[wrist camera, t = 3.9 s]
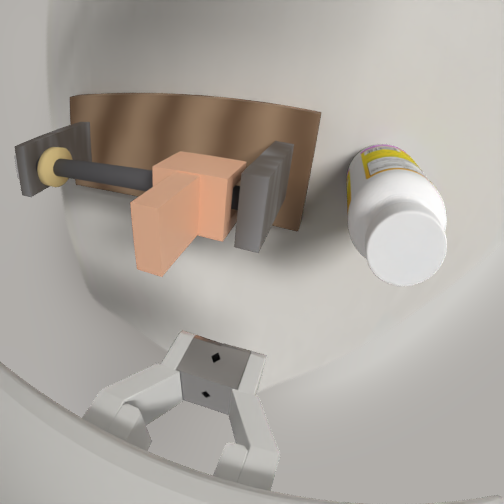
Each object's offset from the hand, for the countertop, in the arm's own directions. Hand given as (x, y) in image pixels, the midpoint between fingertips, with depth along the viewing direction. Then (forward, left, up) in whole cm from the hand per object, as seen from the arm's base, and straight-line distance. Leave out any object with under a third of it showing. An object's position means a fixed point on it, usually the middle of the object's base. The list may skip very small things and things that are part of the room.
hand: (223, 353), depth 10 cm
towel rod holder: (+13, 0, -21) cm, 25 cm away
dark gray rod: (+14, 0, -14) cm, 20 cm away
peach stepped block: (+6, 0, -13) cm, 15 cm away
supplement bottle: (-7, -1, -21) cm, 22 cm away
